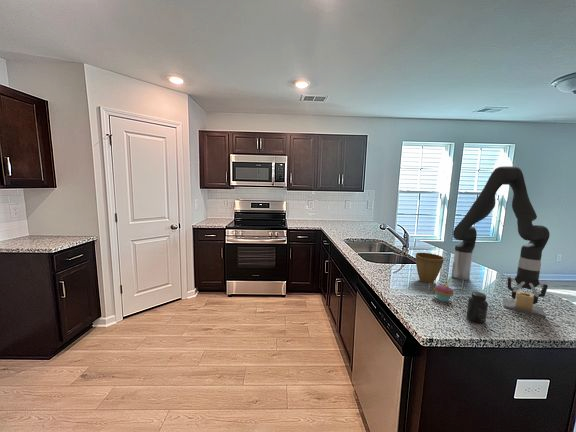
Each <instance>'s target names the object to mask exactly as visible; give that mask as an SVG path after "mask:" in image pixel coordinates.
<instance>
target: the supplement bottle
mask: <svg viewBox="0 0 576 432" xmlns="http://www.w3.org/2000/svg"><path fill="white" fill-rule="evenodd" d="M466 307H467V308H466V314H465V315H466V316H465V317H466V319H467V320H468V321H469V322H471V323H474V324H477V325H485V324H486V322H487V317H488V310H489V303H488V302H487V295H486V294H485V293H483V292H479V291H473V292H471V297H469V298H468V300H467V306H466Z"/></svg>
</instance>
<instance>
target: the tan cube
mask: <svg viewBox="0 0 576 432" xmlns="http://www.w3.org/2000/svg"><path fill="white" fill-rule="evenodd" d="M533 296H534V294H533V293H527V292H525V291H523V292H522V291H518V290H517V291H516V298H515V300H514V301H515V305H516V307H519V308H523V309H528V310H532V306H533V305H534V304H533V300H534V298H533Z"/></svg>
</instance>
